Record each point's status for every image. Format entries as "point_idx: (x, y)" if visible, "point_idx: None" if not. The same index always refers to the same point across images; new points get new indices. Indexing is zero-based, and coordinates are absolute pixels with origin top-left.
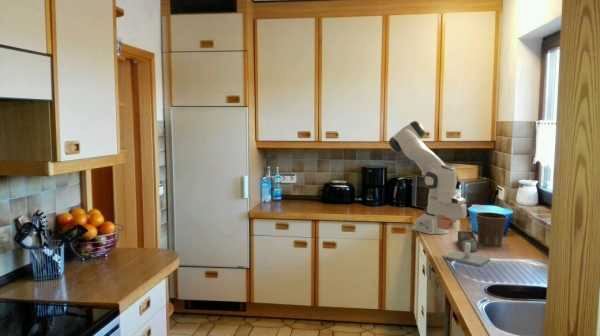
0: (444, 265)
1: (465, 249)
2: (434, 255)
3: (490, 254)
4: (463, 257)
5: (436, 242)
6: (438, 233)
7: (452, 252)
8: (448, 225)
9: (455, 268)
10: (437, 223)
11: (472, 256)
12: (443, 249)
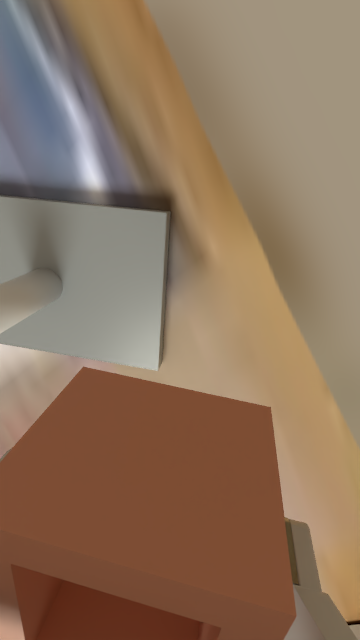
0: (94, 16)
1: (14, 285)
2: (254, 238)
3: (25, 427)
4: (58, 264)
5: (328, 504)
6: (357, 628)
7: (156, 331)
8: (45, 421)
9: (3, 4)
10: (273, 469)
11: (34, 317)
12: (246, 400)
